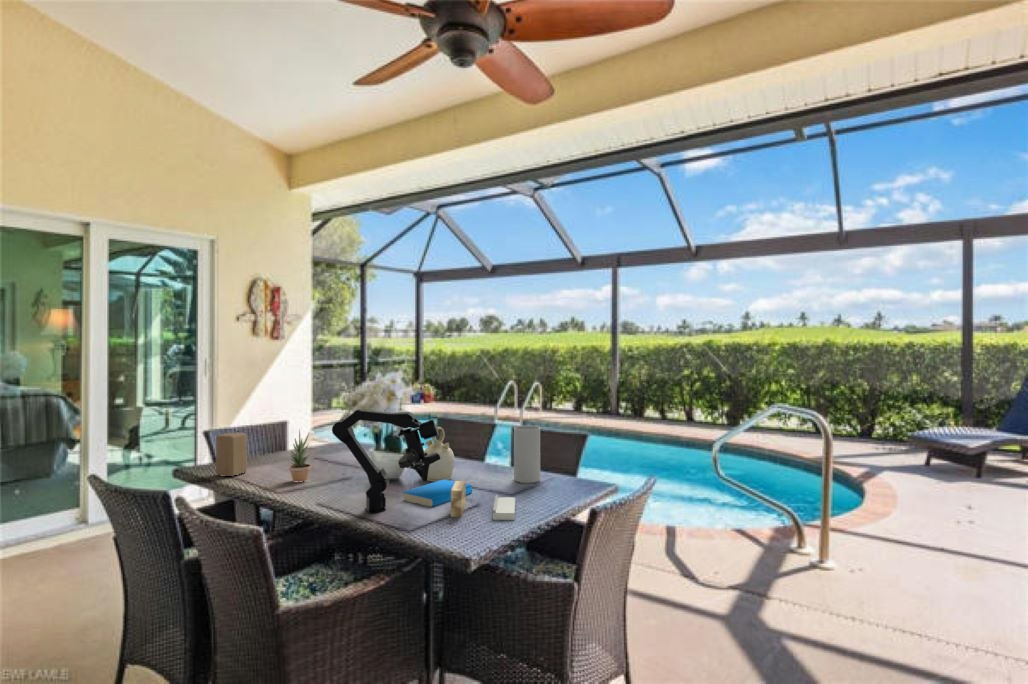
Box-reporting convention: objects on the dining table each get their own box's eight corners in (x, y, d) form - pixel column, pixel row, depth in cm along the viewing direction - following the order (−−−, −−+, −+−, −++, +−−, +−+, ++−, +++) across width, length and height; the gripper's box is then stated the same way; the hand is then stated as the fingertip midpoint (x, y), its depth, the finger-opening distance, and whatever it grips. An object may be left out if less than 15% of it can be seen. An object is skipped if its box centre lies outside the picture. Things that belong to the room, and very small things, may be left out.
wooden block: (215, 476, 267) (215, 435, 267) (231, 471, 276) (231, 432, 276) (231, 477, 264) (231, 436, 264) (247, 473, 273) (247, 433, 273)
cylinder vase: (530, 485, 252) (530, 430, 252) (508, 480, 259) (508, 428, 259) (545, 479, 262) (545, 427, 262) (524, 475, 269) (524, 424, 269)
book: (402, 491, 228) (443, 478, 249) (402, 502, 228) (443, 487, 249) (433, 498, 218) (472, 484, 239) (433, 509, 219) (472, 494, 239)
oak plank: (450, 516, 207) (451, 490, 207) (455, 505, 221) (455, 480, 221) (461, 517, 207) (461, 490, 207) (465, 505, 221) (465, 481, 221)
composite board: (492, 519, 204) (492, 510, 204) (495, 503, 224) (495, 494, 224) (514, 519, 203) (514, 510, 203) (515, 503, 223) (515, 495, 223)
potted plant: (314, 478, 263) (314, 427, 262) (305, 484, 253) (305, 430, 253) (294, 478, 264) (294, 426, 263) (284, 483, 254) (284, 430, 254)
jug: (416, 478, 264) (416, 426, 264) (444, 473, 274) (444, 423, 274) (431, 484, 252) (431, 430, 252) (460, 479, 262) (460, 427, 262)
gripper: (383, 452, 214) (395, 490, 215) (414, 448, 203) (426, 488, 203) (404, 443, 223) (415, 479, 224) (435, 438, 212) (447, 476, 212)
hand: (425, 481), depth 216 cm, fingers closed
